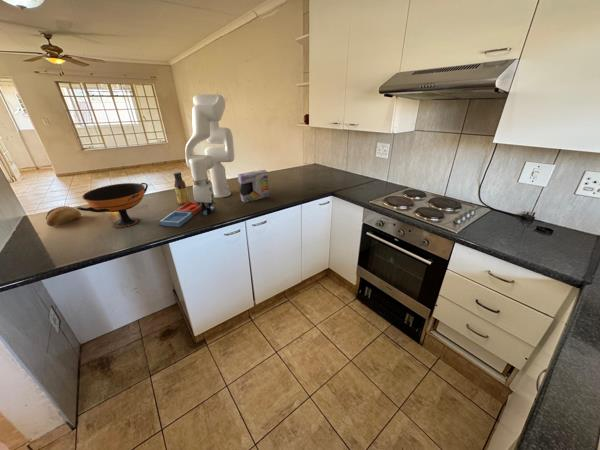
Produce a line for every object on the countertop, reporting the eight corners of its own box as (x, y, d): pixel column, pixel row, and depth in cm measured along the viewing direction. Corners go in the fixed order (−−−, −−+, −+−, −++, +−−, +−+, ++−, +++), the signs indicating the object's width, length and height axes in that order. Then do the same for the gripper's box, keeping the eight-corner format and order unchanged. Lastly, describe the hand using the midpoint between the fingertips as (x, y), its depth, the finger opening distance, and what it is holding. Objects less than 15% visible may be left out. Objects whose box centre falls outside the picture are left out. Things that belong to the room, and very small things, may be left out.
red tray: (189, 205, 150) (188, 201, 149) (205, 206, 148) (204, 202, 147) (177, 214, 139) (176, 210, 138) (194, 215, 137) (193, 211, 136)
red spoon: (192, 206, 148) (192, 203, 147) (198, 206, 147) (197, 203, 146) (183, 212, 139) (183, 209, 139) (189, 213, 139) (189, 210, 138)
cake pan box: (242, 203, 152) (238, 175, 144) (239, 201, 156) (235, 173, 148) (269, 197, 162) (268, 170, 154) (266, 195, 166) (264, 169, 157)
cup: (134, 207, 148) (125, 178, 139) (171, 211, 142) (163, 182, 134) (72, 236, 117) (55, 202, 108) (115, 243, 111) (101, 207, 103)
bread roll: (43, 226, 125) (35, 212, 122) (74, 214, 138) (68, 201, 134) (56, 229, 123) (48, 215, 119) (86, 217, 136) (80, 203, 132)
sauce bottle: (179, 202, 154) (171, 171, 145) (189, 201, 156) (182, 170, 147) (178, 206, 149) (170, 174, 140) (189, 204, 151) (182, 173, 142)
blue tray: (175, 215, 138) (174, 211, 137) (193, 216, 136) (192, 212, 135) (160, 225, 127) (159, 221, 126) (179, 226, 125) (178, 222, 124)
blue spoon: (209, 208, 146) (209, 205, 145) (215, 208, 145) (214, 205, 145) (201, 214, 138) (201, 211, 137) (207, 215, 137) (207, 212, 137)
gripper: (218, 180, 134) (223, 211, 142) (191, 179, 136) (197, 209, 144) (211, 184, 127) (217, 216, 136) (183, 183, 129) (190, 215, 138)
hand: (207, 212), depth 140 cm, fingers closed on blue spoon, 1 cm apart
